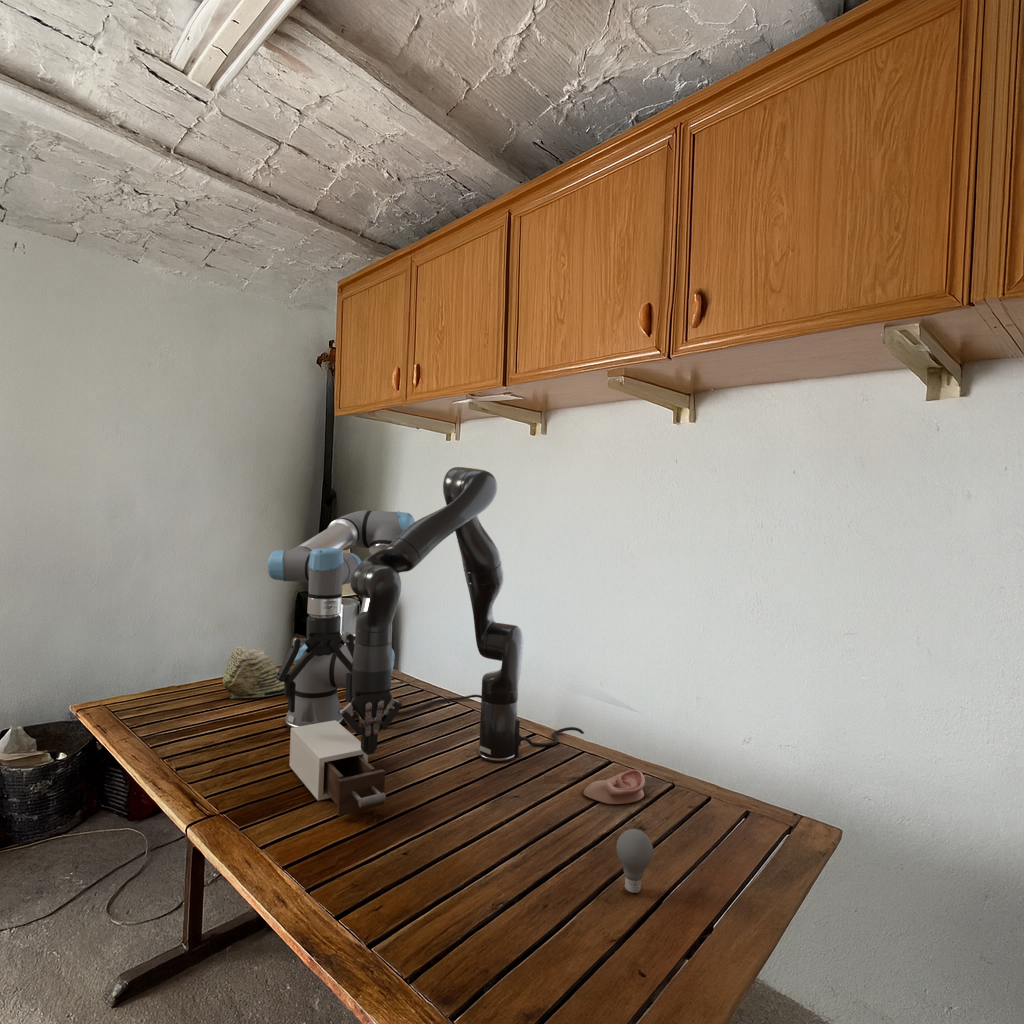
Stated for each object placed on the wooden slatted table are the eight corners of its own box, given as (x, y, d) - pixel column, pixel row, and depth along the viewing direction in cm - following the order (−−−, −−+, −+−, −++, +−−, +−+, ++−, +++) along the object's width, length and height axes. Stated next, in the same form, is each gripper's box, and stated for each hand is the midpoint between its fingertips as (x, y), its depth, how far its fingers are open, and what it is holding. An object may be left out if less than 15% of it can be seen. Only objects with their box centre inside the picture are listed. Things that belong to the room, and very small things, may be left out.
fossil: (218, 695, 195) (220, 647, 195) (278, 685, 208) (279, 640, 207) (228, 703, 189) (230, 653, 188) (289, 692, 201) (290, 645, 201)
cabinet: (366, 788, 138) (368, 748, 138) (317, 801, 132) (319, 758, 132) (334, 756, 154) (335, 720, 154) (289, 765, 148) (290, 727, 148)
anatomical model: (582, 782, 137) (587, 761, 148) (581, 800, 137) (586, 778, 148) (645, 790, 134) (645, 768, 145) (644, 809, 134) (644, 785, 145)
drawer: (395, 815, 125) (397, 781, 125) (349, 829, 120) (350, 792, 119) (350, 770, 145) (351, 740, 144) (308, 780, 139) (309, 749, 139)
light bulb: (610, 879, 108) (613, 822, 108) (644, 879, 109) (647, 822, 109) (619, 902, 102) (622, 840, 102) (655, 901, 103) (658, 840, 103)
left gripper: (273, 622, 137) (269, 719, 137) (381, 614, 151) (377, 702, 151) (264, 616, 143) (260, 709, 143) (368, 608, 157) (365, 693, 158)
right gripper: (346, 674, 117) (343, 766, 118) (411, 665, 125) (407, 752, 125) (332, 664, 123) (329, 752, 124) (394, 657, 131) (391, 740, 131)
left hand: (320, 706), depth 147 cm, fingers open, 13 cm apart
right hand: (368, 752), depth 125 cm, fingers closed
